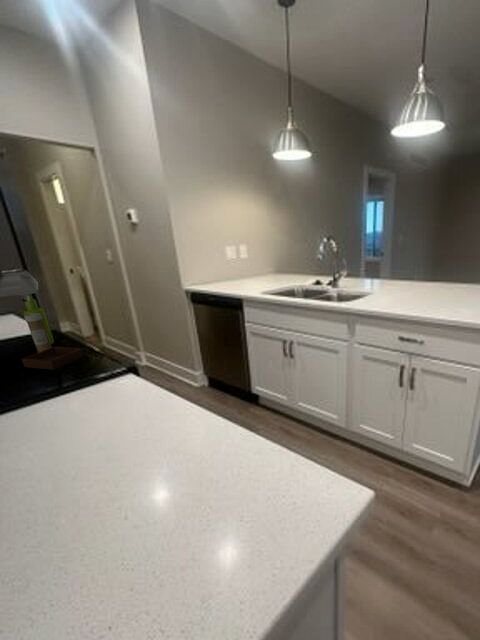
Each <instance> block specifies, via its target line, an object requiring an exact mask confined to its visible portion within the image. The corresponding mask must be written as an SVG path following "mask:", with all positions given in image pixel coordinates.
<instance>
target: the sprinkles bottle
mask: <svg viewBox="0 0 480 640" xmlns="http://www.w3.org/2000/svg"><path fill="white" fill-rule="evenodd" d="M24 320H25V322H26V323H27V326H28V329H29V332H30V335H31V337H32V340H33V343H34V345H35V348H36V351H37V353H39V352H42V351H44V350H47V349H49V348H52V347H53V346H52V344H51V343H50V340H49V337H48V334H47V332H46V329H45V327H44V324H43V321H42V316H41V314H40V313H35V314H29V315H26V316H25V315H24Z"/></svg>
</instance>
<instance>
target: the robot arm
mask: <svg viewBox="0 0 480 640" xmlns="http://www.w3.org/2000/svg"><path fill="white" fill-rule="evenodd" d="M38 291H39V283H38V280H36V278H35V277H33V276H32V275H31V274H30V273H29V271H27V270H25V269H20V268H18V267H17V268H9V269H8V268H3V269H2V268H1V269H0V298H4V297H5V298H6V297H14V296H20V300H21V301H22V302H23V303H24V302H28V301H30V297H29V296H28V294H30V295H35V294H37V293H38Z"/></svg>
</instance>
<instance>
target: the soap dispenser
mask: <svg viewBox="0 0 480 640" xmlns="http://www.w3.org/2000/svg"><path fill="white" fill-rule="evenodd" d="M28 296H29V297H30V301H28V302H23V304H24V306H25V310H23V311H22V313H23V315H24V317H25V316H26V315H29V314H35V313H40V314H41V316H42V321H43V324H44V327H45V329H46V332H47V334H48V337H49V340H50V343H51V345H53V344H54V343H55V340H54V337H53V336H54V335H53V333H52V330H51V328H50V325H49V322H48V319H47V316H46V313H45V310H44V308H43V307H39V306H38V303H37V301H36V299H35V298H33V297H32V294H28Z"/></svg>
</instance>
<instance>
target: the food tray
mask: <svg viewBox="0 0 480 640" xmlns="http://www.w3.org/2000/svg"><path fill="white" fill-rule="evenodd" d="M83 356H84V357H85V353H84V350H83V348H80V347H79V348H78V347H67V346H66V347H65V346H52V348H49V349H47V350H44V351H42V352H39V353H38V352H37V353H34V354H31V355H29V356H26V357H23V358H21V362H22V365H23V367H24V368H29V369H41V370H51V371H55V370H57V369H59V368H62V367H64V366H67V365H68V364H70V363H73V362H75V361H78V360H80V359H81V358H84V357H83Z"/></svg>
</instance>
